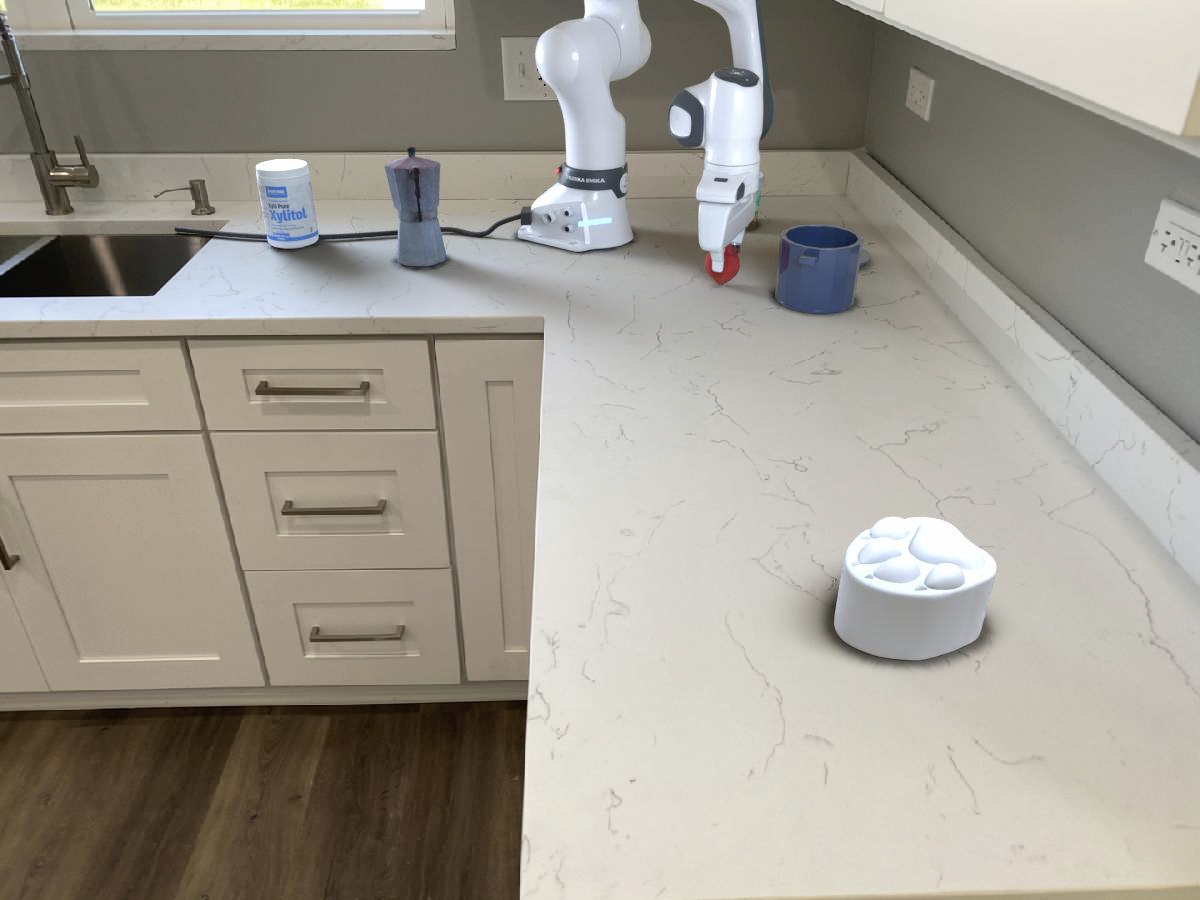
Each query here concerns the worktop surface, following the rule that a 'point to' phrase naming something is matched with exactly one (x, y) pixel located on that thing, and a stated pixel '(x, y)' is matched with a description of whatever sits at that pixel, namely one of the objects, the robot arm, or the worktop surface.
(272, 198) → the supplement tub
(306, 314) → the worktop surface
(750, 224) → the food container
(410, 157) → the moka pot
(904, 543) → the lumpy-topped squat cylinder
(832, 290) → the pot
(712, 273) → the onion
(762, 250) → the worktop surface
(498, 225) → the robot arm
